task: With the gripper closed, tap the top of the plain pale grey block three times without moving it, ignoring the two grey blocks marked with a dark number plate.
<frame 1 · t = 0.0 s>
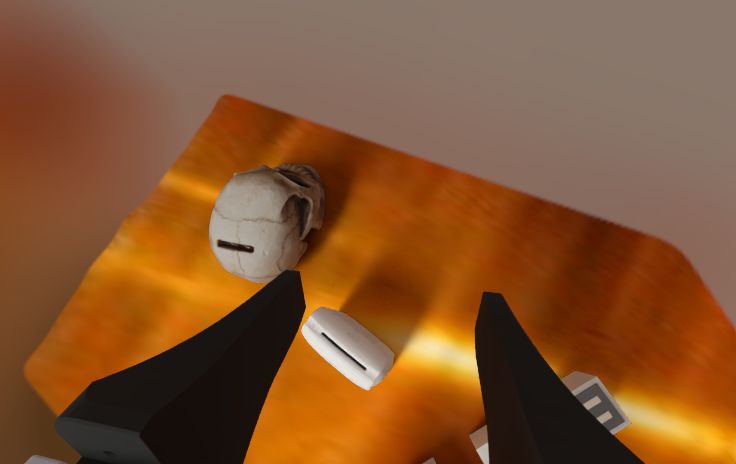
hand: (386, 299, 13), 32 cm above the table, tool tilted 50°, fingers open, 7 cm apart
grey skull: (286, 222, 50), on the table
marked block 2: (571, 401, 38), on the table
plain block: (499, 445, 38), on the table
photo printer: (360, 343, 44), on the table
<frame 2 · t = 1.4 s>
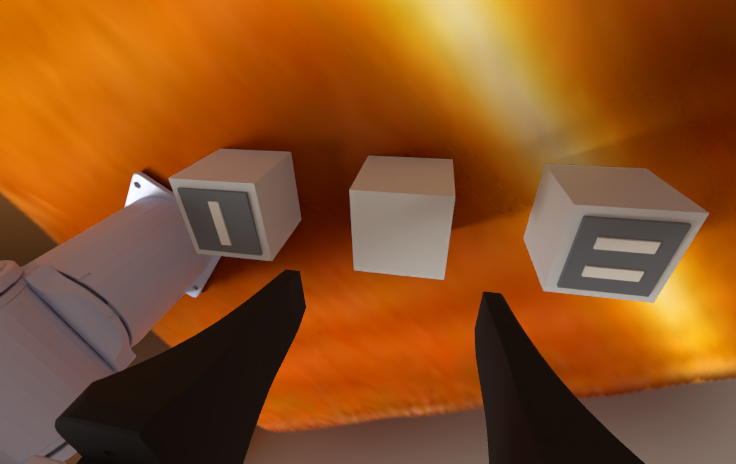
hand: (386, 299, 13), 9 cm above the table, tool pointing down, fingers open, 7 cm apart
marked block 2: (578, 206, 19), on the table
plain block: (407, 194, 21), on the table
marked block 1: (262, 185, 22), on the table
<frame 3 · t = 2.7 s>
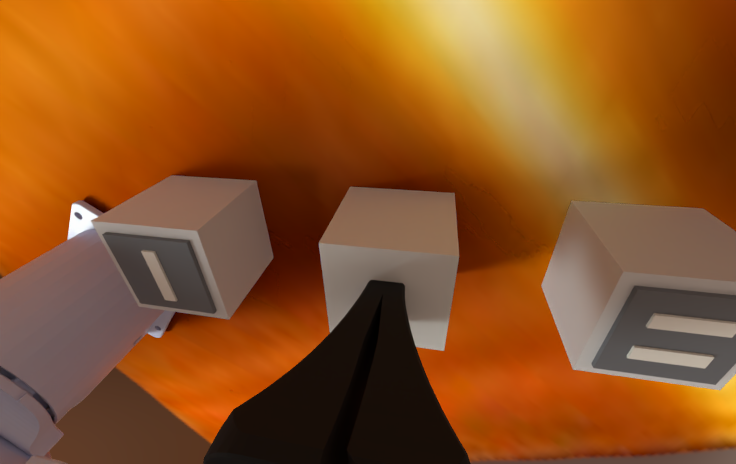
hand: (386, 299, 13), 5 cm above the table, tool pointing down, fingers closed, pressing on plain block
marked block 2: (612, 250, 15), on the table
plain block: (399, 232, 17), on the table, touching gripper
marked block 1: (225, 217, 19), on the table
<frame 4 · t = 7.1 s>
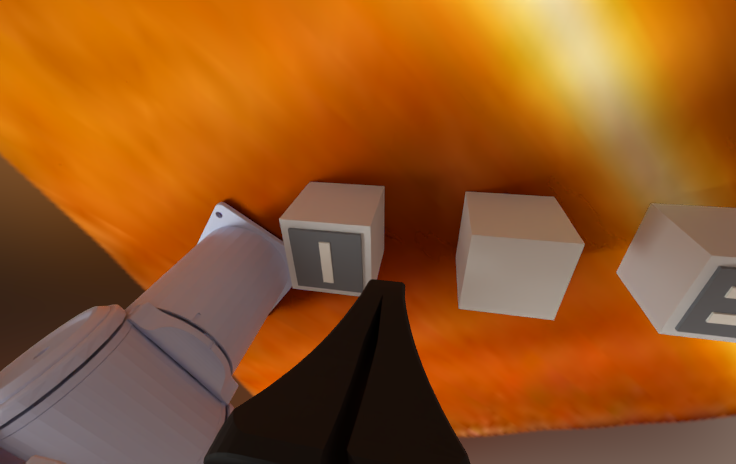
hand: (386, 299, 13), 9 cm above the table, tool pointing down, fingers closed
marked block 2: (679, 243, 19), on the table
plain block: (500, 228, 21), on the table
marked block 1: (348, 216, 22), on the table
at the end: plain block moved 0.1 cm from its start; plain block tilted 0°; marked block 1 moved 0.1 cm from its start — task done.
